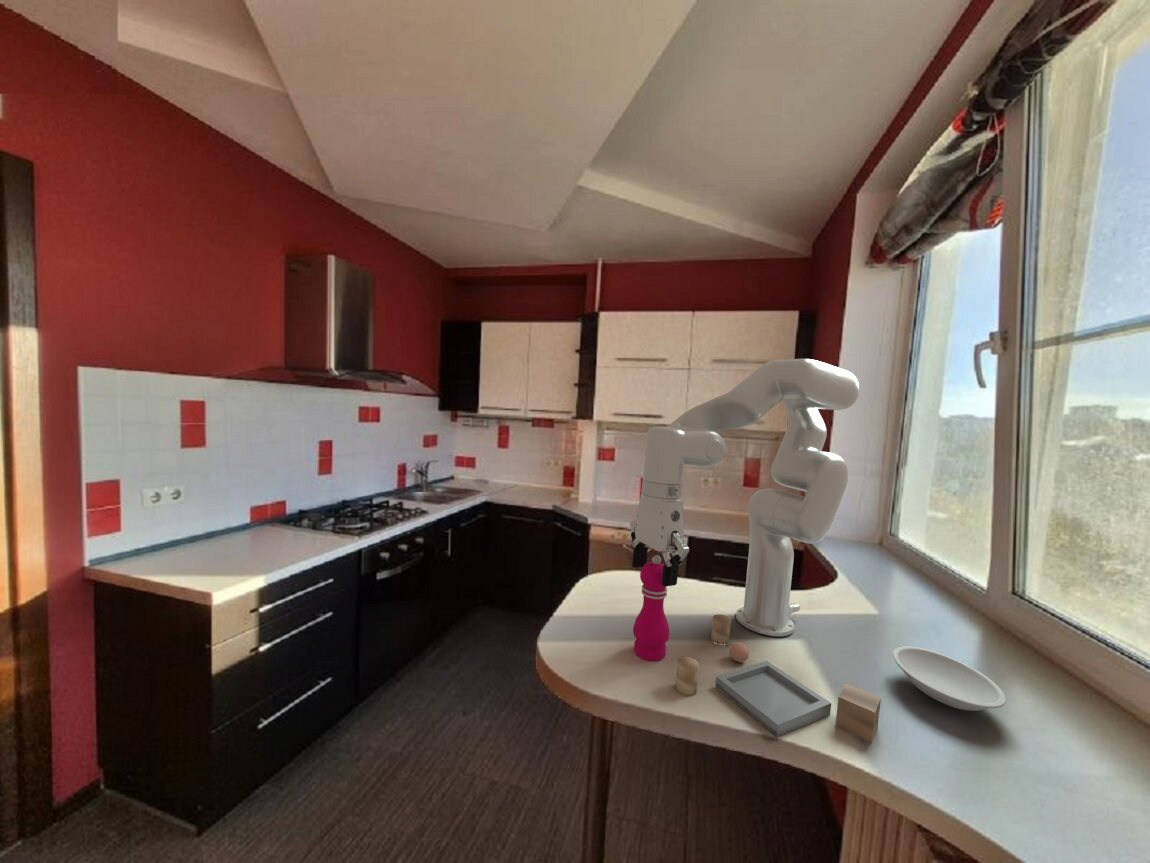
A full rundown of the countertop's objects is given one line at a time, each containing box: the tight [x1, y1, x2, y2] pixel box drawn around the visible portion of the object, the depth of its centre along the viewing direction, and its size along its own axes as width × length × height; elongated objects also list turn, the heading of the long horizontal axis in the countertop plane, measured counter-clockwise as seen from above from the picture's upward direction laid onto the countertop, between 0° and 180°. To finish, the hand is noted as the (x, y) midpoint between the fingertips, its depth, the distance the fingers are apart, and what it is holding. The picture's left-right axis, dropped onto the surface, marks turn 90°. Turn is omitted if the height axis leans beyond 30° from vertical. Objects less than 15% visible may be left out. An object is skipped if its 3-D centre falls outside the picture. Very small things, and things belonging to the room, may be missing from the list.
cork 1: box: [675, 656, 699, 697], centre depth 80 cm, size 4×4×5 cm
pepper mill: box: [632, 555, 670, 662], centre depth 90 cm, size 7×7×20 cm
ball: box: [729, 641, 750, 663], centre depth 90 cm, size 4×4×4 cm
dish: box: [892, 645, 1007, 712], centre depth 82 cm, size 18×14×5 cm
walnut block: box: [834, 683, 882, 744], centre depth 73 cm, size 5×5×5 cm
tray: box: [714, 660, 832, 738], centre depth 79 cm, size 13×13×2 cm
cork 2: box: [710, 614, 732, 646], centre depth 97 cm, size 4×4×5 cm
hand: (653, 575), depth 90 cm, fingers open, 9 cm apart
